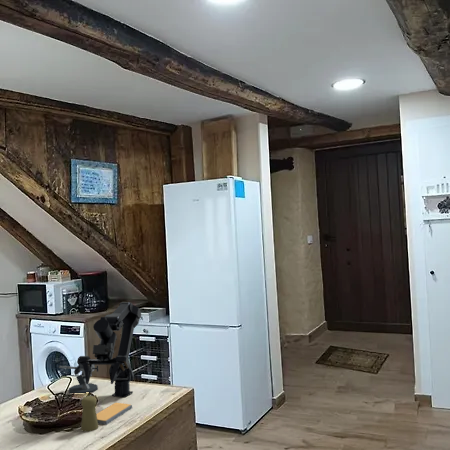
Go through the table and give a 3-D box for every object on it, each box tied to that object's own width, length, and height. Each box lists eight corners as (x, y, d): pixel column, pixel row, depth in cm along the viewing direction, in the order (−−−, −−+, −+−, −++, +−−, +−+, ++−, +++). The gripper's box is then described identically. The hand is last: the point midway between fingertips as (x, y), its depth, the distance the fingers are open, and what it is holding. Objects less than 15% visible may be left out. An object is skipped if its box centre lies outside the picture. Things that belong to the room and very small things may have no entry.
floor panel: (114, 405, 203) (114, 402, 203) (132, 408, 200) (132, 404, 200) (88, 421, 187) (88, 418, 187) (106, 424, 184) (106, 420, 184)
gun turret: (66, 383, 234) (66, 355, 234) (105, 386, 228) (104, 357, 227) (49, 392, 222) (48, 362, 222) (88, 396, 216) (88, 365, 215)
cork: (79, 426, 183) (78, 395, 183) (96, 423, 185) (96, 393, 185) (82, 432, 178) (81, 401, 177) (99, 429, 180) (98, 398, 180)
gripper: (77, 335, 194) (67, 374, 184) (125, 334, 193) (118, 373, 182) (85, 349, 202) (77, 387, 192) (132, 348, 201) (125, 387, 191)
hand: (99, 383), depth 189 cm, fingers open, 9 cm apart
